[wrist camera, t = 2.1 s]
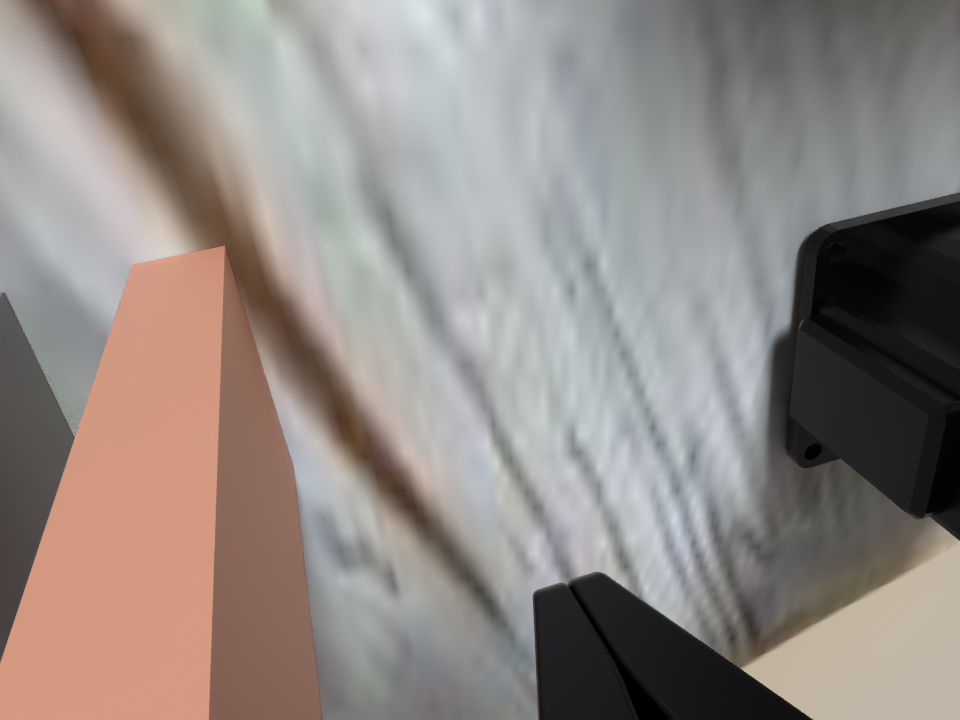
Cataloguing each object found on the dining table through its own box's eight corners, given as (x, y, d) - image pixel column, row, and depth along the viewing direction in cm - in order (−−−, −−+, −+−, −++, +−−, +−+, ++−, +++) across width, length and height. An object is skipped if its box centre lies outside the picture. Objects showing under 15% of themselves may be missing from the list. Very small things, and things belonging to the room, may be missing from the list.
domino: (225, 245, 14) (208, 727, 5) (293, 466, 16) (358, 1037, 8) (132, 265, 13) (-50, 810, 5) (216, 486, 16) (194, 1106, 7)
